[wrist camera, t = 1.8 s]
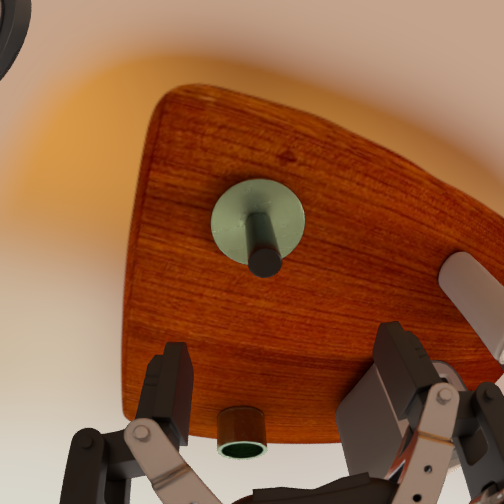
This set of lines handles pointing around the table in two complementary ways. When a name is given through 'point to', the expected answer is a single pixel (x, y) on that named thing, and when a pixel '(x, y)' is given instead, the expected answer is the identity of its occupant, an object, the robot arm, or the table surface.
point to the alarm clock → (379, 423)
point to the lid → (258, 224)
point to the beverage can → (476, 299)
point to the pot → (241, 433)
